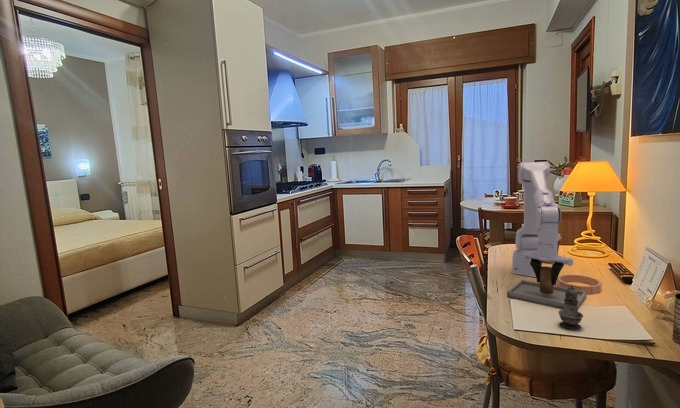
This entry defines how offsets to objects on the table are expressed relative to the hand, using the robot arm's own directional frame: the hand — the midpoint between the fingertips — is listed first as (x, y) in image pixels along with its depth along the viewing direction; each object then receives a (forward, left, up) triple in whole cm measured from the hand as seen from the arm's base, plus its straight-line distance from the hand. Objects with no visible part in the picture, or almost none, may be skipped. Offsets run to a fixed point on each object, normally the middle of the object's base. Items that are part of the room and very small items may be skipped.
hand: (546, 283), depth 125 cm
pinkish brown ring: (+6, +16, -5) cm, 18 cm away
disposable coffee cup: (-11, +43, -5) cm, 45 cm away
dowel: (0, 0, -3) cm, 3 cm away
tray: (0, 0, -5) cm, 5 cm away
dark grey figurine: (+11, -18, -5) cm, 22 cm away
